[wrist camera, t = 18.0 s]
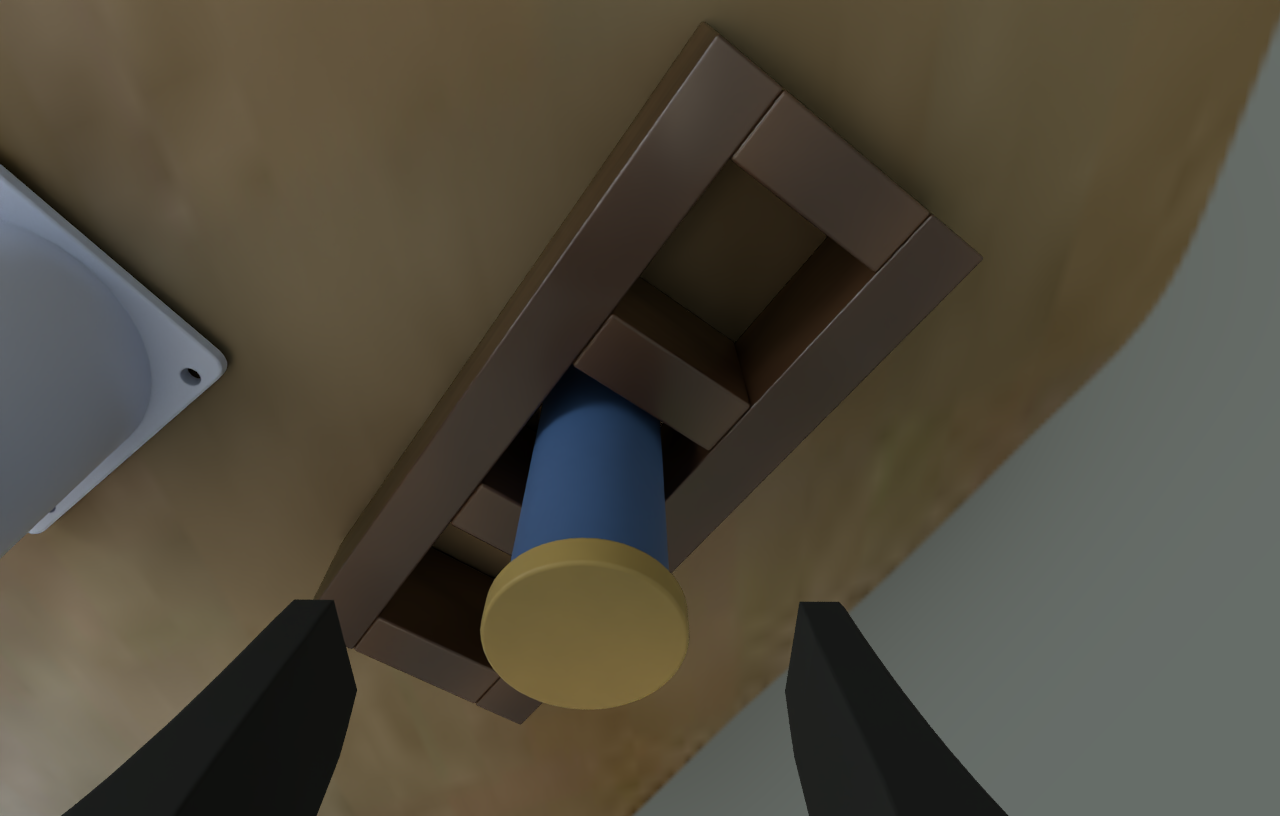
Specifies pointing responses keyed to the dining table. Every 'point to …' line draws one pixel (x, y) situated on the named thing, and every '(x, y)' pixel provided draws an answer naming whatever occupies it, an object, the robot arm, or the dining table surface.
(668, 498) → the holder
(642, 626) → the capped tube
